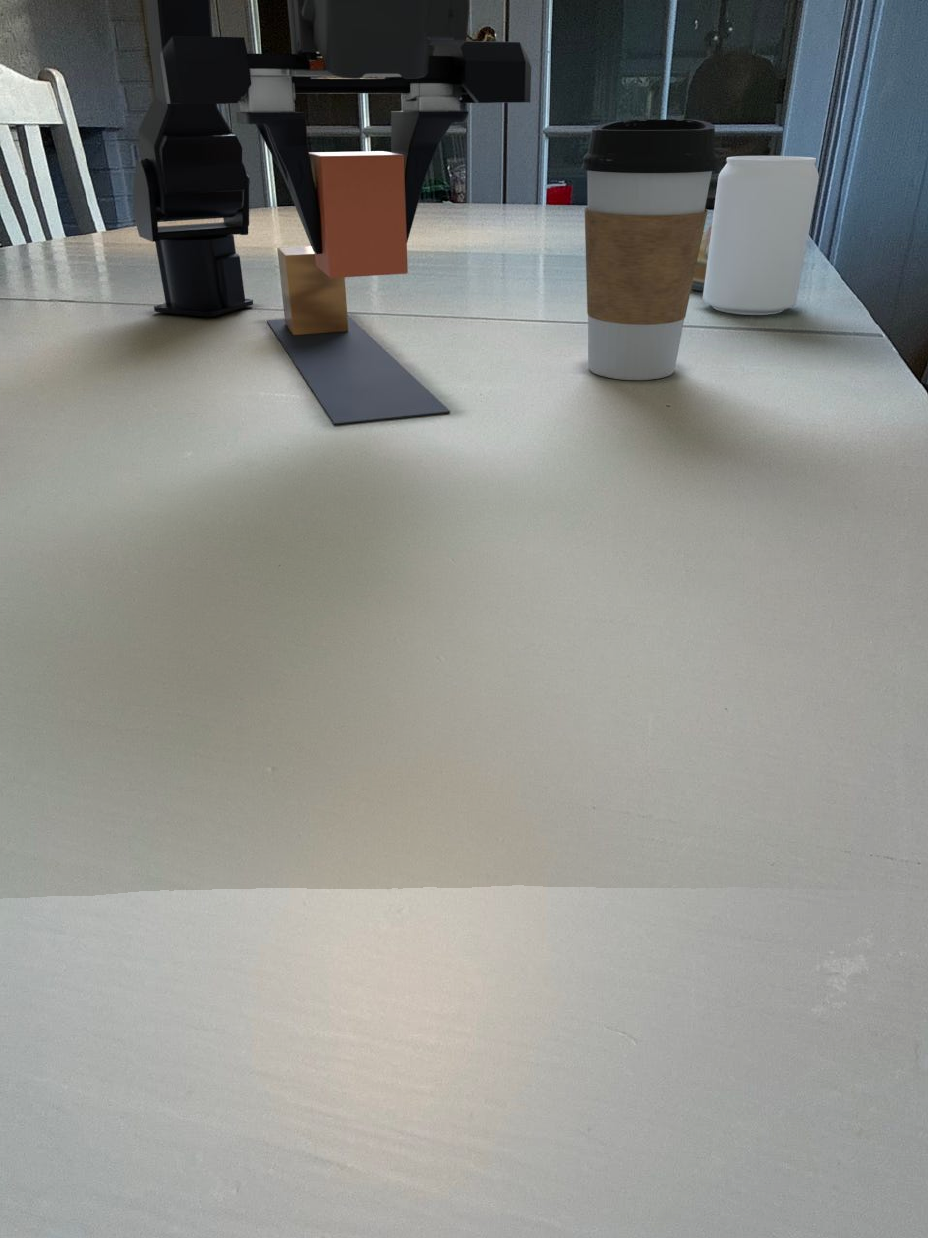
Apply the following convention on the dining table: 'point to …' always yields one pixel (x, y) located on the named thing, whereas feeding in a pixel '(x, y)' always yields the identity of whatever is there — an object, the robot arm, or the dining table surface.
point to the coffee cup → (643, 240)
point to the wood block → (310, 294)
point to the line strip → (356, 376)
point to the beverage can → (760, 233)
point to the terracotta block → (361, 213)
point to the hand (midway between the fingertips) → (359, 251)
